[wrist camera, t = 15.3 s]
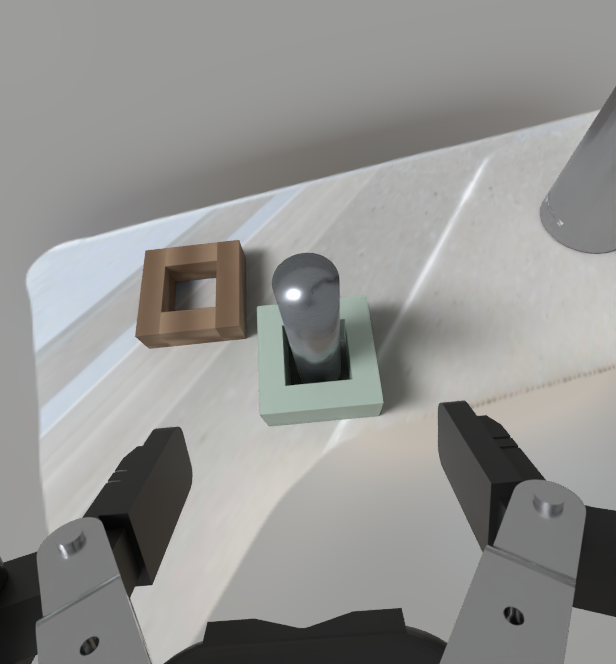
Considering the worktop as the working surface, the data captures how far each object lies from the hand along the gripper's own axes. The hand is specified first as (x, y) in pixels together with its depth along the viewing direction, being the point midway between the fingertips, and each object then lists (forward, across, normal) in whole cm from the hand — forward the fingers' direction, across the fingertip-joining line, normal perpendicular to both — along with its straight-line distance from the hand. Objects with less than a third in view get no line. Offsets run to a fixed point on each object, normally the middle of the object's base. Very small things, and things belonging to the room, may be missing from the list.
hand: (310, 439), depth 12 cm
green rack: (+24, 0, +9) cm, 26 cm away
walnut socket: (+30, +12, +3) cm, 33 cm away
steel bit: (+24, 0, +9) cm, 26 cm away
